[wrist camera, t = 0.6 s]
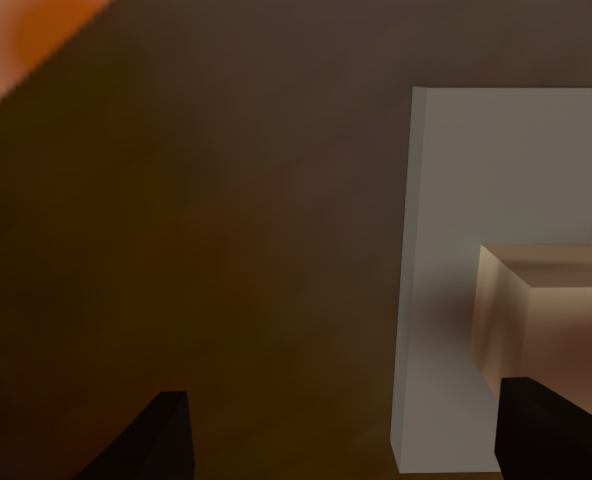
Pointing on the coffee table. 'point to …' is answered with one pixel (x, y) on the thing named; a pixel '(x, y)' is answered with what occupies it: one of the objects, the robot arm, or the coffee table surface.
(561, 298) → the maple block
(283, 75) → the coffee table surface
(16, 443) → the coffee table surface
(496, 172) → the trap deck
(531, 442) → the robot arm
